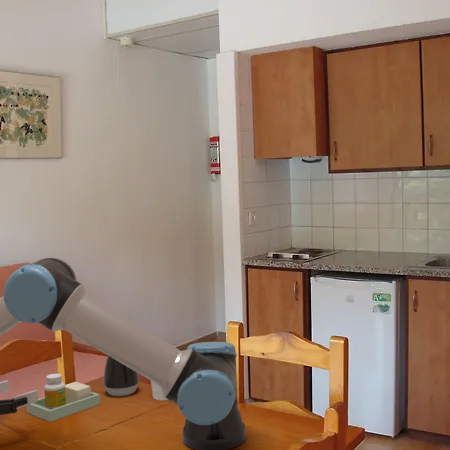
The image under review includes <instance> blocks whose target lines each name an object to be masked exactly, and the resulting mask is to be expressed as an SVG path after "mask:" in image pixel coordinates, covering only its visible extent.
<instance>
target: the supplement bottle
mask: <svg viewBox="0 0 450 450" xmlns="http://www.w3.org/2000/svg"><path fill="white" fill-rule="evenodd" d="M45 379H46V382H47V383H46V384H44V389H43V390H44V397H45V407H46V408H48V409H50V410H51V409H54V408H57V407H60V406H63V405H66V394H65V385H66V384H65V382H64V381H63V376H62V374H61V373H51V374H48V375H46V378H45Z"/></svg>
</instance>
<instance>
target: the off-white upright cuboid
mask: <svg viewBox="0 0 450 450" xmlns="http://www.w3.org/2000/svg"><path fill="white" fill-rule="evenodd" d="M91 392H92V390H91V386H90V385H88V384H84V383H81V382H78V381H73V382H71V383H68V384H65V394H66V404H69V403H72V402H75V401H78V400H81V399H84V398H87V397H89V396H91Z"/></svg>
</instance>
